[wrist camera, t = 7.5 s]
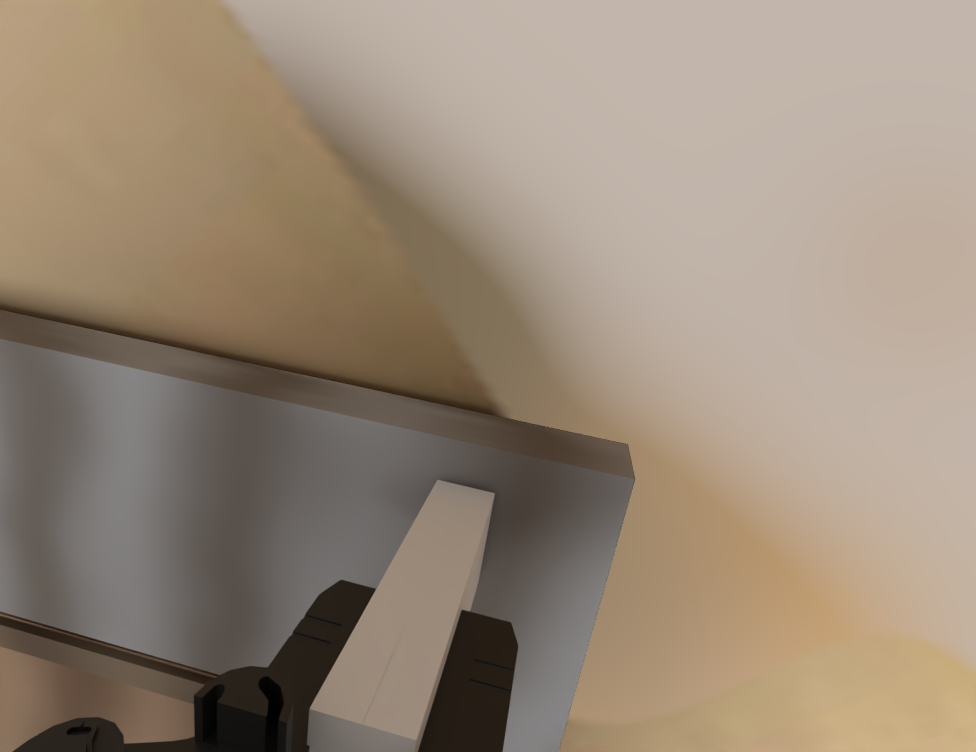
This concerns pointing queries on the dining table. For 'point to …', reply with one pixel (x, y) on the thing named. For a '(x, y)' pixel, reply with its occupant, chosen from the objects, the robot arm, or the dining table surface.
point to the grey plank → (278, 506)
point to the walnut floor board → (89, 685)
